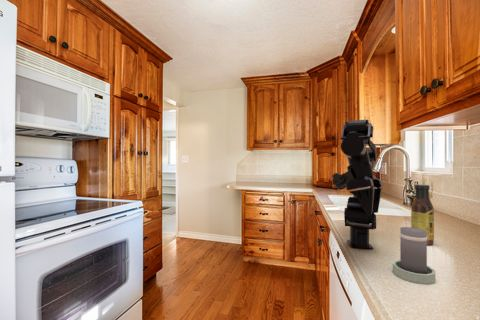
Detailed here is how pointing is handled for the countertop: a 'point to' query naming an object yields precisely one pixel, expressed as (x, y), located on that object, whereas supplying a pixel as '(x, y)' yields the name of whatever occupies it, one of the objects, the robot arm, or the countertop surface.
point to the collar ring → (414, 274)
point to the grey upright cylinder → (413, 250)
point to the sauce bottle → (423, 212)
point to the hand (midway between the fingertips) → (372, 213)
